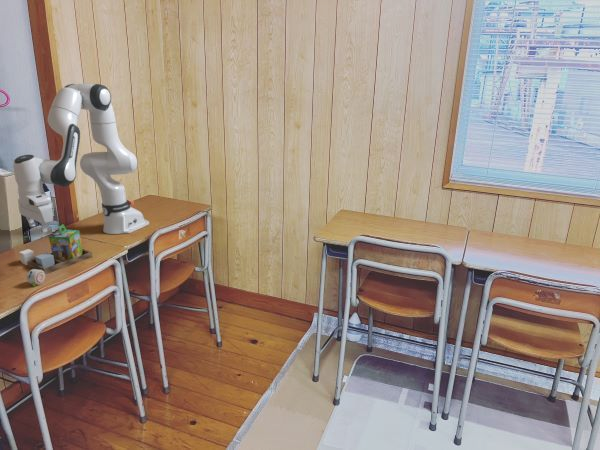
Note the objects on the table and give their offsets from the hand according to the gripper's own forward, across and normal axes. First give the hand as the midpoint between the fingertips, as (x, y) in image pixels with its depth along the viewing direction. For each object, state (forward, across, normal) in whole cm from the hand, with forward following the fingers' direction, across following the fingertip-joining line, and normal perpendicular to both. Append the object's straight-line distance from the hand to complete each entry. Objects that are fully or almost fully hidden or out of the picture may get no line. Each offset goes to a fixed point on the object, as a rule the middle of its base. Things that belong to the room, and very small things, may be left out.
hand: (38, 229), depth 201 cm
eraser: (+17, -10, -2) cm, 20 cm away
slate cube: (+17, 0, 0) cm, 17 cm away
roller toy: (+17, +12, -10) cm, 23 cm away
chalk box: (+17, 0, +10) cm, 19 cm away
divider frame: (+17, 0, +6) cm, 18 cm away
